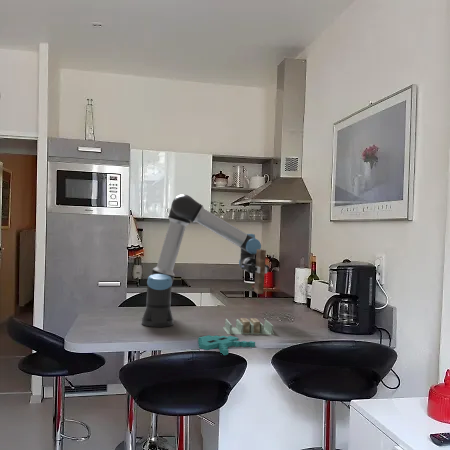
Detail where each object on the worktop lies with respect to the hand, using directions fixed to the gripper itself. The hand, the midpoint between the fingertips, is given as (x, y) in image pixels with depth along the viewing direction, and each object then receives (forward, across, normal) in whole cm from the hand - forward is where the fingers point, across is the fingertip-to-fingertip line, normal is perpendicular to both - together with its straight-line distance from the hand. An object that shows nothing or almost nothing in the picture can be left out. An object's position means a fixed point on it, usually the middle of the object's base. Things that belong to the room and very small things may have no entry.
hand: (262, 270), depth 210 cm
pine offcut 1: (-6, +6, -29) cm, 30 cm away
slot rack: (-6, +4, -30) cm, 31 cm away
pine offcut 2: (-6, +1, -29) cm, 29 cm away
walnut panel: (-5, 0, -11) cm, 12 cm away
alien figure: (+17, +20, -31) cm, 40 cm away
